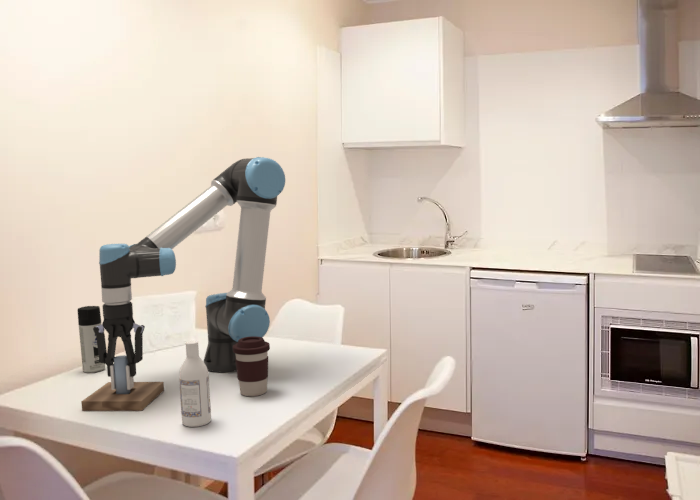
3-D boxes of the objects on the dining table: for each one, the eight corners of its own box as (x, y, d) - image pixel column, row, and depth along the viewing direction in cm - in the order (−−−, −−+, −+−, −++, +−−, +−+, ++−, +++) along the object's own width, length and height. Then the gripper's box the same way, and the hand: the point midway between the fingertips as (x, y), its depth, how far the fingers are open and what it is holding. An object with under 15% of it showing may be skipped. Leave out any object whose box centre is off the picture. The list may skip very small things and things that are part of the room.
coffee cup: (231, 390, 189) (228, 337, 187) (265, 384, 192) (263, 333, 191) (240, 400, 179) (237, 345, 178) (276, 394, 183) (273, 340, 182)
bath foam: (199, 415, 170) (194, 337, 168) (217, 421, 165) (212, 340, 163) (176, 423, 165) (171, 343, 162) (193, 429, 160) (188, 347, 158)
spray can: (97, 373, 209) (92, 309, 206) (77, 373, 210) (72, 309, 208) (109, 367, 215) (104, 305, 213) (90, 366, 217) (85, 305, 214)
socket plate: (164, 390, 190) (163, 381, 190) (141, 410, 174) (141, 401, 174) (109, 390, 192) (108, 382, 191) (82, 410, 176) (81, 401, 176)
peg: (132, 398, 184) (130, 355, 183) (127, 402, 181) (124, 359, 179) (120, 398, 185) (117, 355, 183) (114, 402, 181) (111, 359, 180)
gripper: (153, 299, 183) (158, 383, 185) (93, 299, 184) (99, 383, 187) (142, 304, 175) (147, 392, 178) (80, 305, 177) (86, 392, 179)
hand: (122, 387), depth 182 cm, fingers closed on peg, 4 cm apart
